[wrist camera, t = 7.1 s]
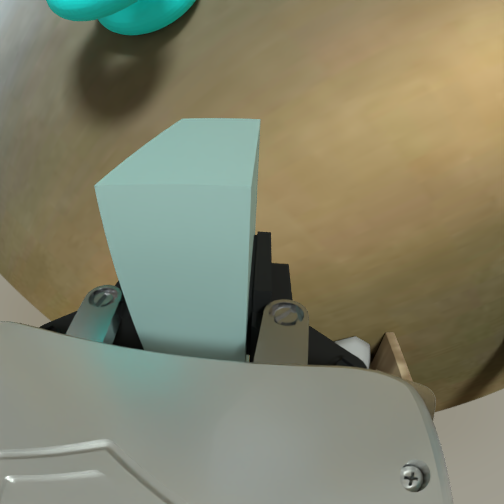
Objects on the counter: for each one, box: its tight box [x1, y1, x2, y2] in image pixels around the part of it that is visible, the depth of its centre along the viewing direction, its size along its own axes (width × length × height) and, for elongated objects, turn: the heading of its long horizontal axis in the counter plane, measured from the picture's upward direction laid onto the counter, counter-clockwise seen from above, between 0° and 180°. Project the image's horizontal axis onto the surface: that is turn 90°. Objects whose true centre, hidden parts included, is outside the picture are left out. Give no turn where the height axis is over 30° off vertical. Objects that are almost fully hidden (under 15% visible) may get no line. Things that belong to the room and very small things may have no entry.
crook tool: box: [94, 118, 260, 362], centre depth 14 cm, size 10×22×7 cm, turn 178°
